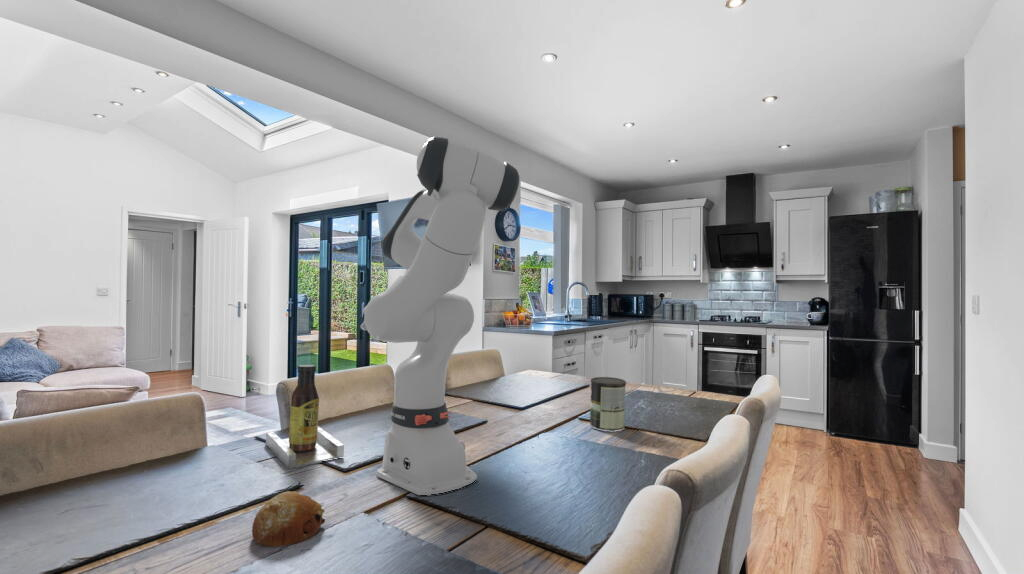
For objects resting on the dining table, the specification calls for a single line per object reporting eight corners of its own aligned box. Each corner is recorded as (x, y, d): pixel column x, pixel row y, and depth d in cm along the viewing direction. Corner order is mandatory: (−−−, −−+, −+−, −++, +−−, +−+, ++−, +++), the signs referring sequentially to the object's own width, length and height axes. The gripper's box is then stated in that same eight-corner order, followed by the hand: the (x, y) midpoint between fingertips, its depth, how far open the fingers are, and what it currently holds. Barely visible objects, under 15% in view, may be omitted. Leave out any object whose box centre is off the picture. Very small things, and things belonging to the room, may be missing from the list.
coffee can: (583, 427, 140) (584, 380, 140) (598, 420, 149) (600, 375, 149) (616, 434, 134) (617, 385, 134) (630, 427, 143) (631, 380, 143)
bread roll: (280, 538, 82) (260, 496, 81) (336, 511, 82) (317, 470, 82) (254, 572, 72) (231, 524, 71) (318, 542, 73) (296, 495, 72)
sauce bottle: (306, 454, 110) (308, 368, 110) (282, 451, 111) (285, 366, 111) (322, 445, 116) (325, 364, 117) (300, 442, 118) (303, 362, 118)
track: (343, 457, 110) (343, 444, 110) (288, 469, 102) (288, 455, 102) (315, 435, 125) (316, 424, 125) (265, 444, 118) (266, 432, 118)
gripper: (377, 285, 141) (345, 319, 134) (418, 287, 127) (385, 325, 120) (389, 300, 145) (359, 334, 137) (431, 304, 131) (400, 342, 123)
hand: (372, 330), depth 129 cm, fingers open, 8 cm apart
